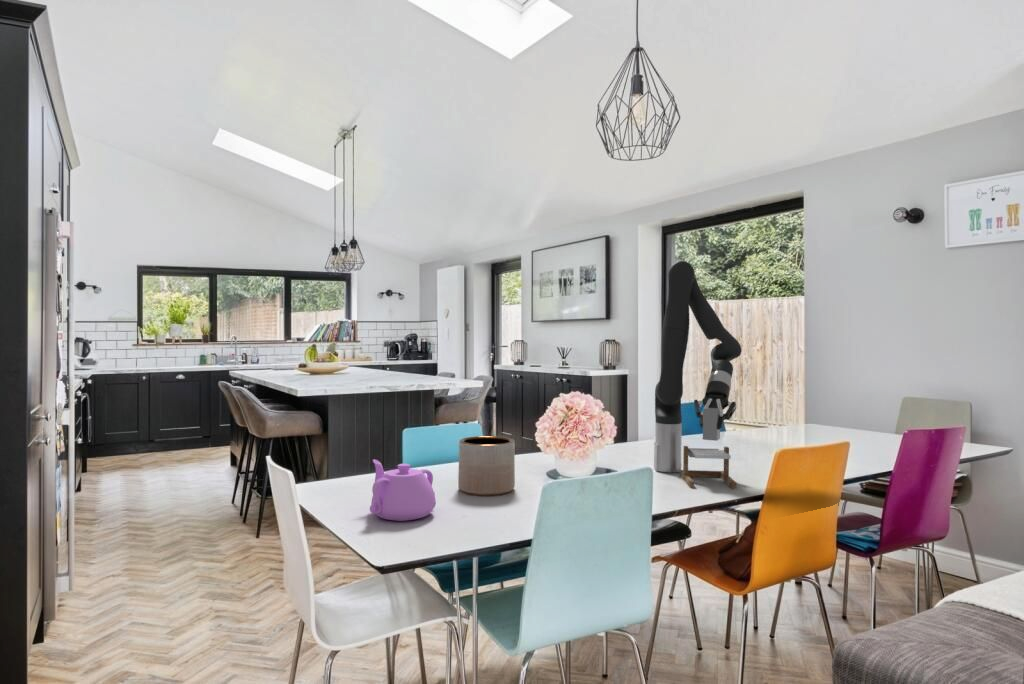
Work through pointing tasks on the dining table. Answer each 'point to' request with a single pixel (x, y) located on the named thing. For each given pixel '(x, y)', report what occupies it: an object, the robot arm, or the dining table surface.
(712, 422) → the basalt block
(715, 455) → the trapdoor plate
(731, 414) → the robot arm
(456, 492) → the dining table surface
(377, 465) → the teapot
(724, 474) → the brown wooden frame
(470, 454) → the planter
